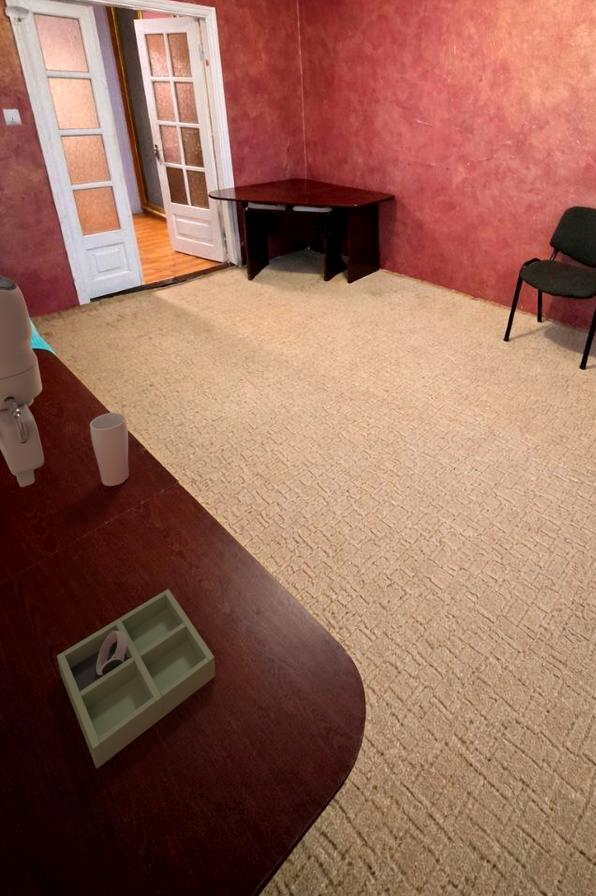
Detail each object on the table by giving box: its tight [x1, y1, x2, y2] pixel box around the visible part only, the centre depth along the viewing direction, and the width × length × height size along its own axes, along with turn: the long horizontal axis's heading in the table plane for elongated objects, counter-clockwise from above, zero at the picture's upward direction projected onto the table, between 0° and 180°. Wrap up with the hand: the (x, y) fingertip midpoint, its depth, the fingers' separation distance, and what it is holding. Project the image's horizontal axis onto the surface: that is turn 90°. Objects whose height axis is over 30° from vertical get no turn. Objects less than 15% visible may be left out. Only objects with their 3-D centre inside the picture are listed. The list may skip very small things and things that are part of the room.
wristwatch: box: [96, 631, 127, 675], centre depth 69 cm, size 3×5×5 cm
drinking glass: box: [89, 412, 130, 487], centre depth 105 cm, size 7×7×15 cm
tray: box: [56, 588, 217, 769], centre depth 69 cm, size 15×15×4 cm
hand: (19, 467), depth 72 cm, fingers open, 8 cm apart
